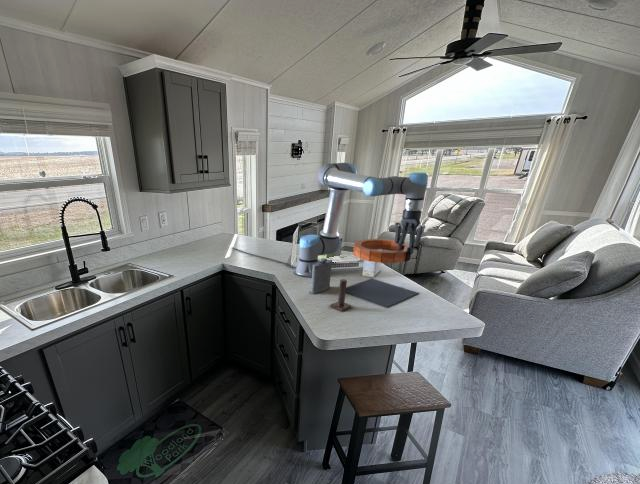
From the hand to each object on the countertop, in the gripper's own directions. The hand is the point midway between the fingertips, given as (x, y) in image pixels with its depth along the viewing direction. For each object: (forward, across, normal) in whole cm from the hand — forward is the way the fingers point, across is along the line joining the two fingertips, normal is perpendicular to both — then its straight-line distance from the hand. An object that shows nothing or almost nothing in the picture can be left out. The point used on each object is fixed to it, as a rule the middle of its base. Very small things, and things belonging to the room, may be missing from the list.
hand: (403, 259), depth 156 cm
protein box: (+22, -68, +25) cm, 76 cm away
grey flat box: (+22, -33, -19) cm, 44 cm away
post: (+22, -12, -28) cm, 37 cm away
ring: (0, -12, 0) cm, 12 cm away
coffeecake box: (+22, -33, +26) cm, 47 cm away
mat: (+22, -12, +3) cm, 25 cm away
